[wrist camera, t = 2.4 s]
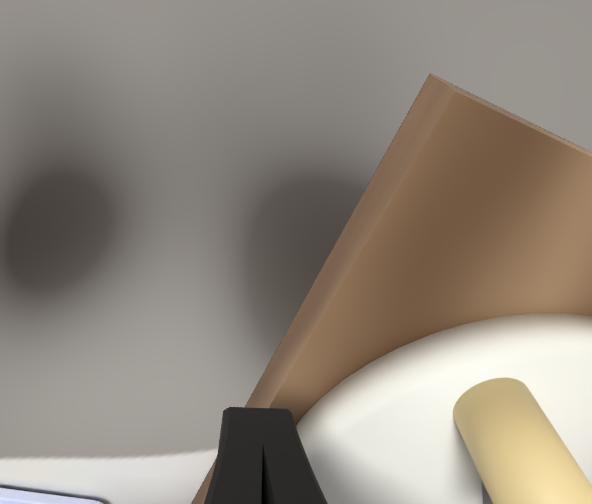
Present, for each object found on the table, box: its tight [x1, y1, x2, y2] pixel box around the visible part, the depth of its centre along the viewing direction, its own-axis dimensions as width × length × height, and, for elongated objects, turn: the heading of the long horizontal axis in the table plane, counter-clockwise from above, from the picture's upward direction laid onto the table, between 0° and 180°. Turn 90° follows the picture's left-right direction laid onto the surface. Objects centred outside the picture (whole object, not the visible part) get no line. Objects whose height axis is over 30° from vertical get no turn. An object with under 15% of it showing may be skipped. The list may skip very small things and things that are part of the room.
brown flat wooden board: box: [191, 74, 592, 504], centre depth 17 cm, size 16×21×2 cm
